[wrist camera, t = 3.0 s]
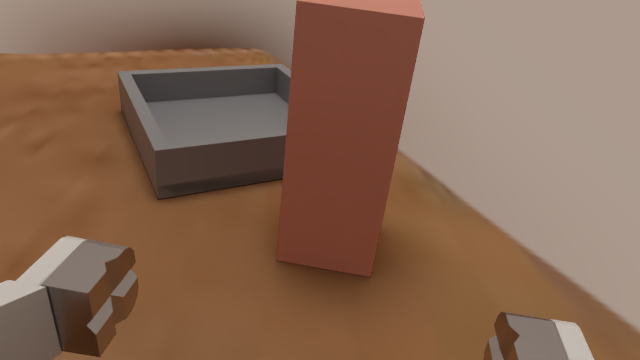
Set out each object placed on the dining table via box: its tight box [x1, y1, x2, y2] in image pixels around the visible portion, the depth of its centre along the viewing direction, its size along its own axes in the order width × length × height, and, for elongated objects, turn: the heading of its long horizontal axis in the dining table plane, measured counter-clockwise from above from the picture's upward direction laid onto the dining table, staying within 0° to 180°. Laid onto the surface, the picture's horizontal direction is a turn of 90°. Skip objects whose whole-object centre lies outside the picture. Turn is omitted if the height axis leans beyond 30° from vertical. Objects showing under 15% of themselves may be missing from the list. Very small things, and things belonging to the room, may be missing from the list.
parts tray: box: [117, 64, 291, 199], centre depth 34 cm, size 13×13×3 cm
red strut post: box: [276, 0, 425, 277], centre depth 22 cm, size 5×5×12 cm
